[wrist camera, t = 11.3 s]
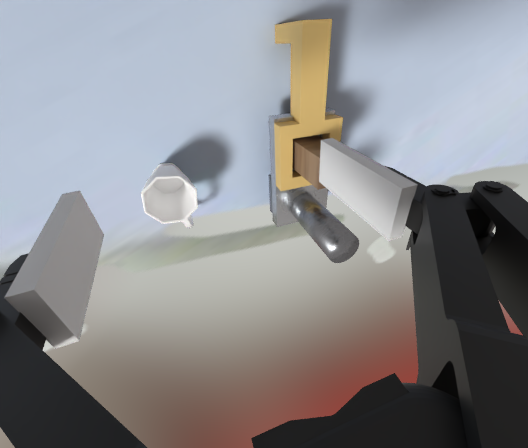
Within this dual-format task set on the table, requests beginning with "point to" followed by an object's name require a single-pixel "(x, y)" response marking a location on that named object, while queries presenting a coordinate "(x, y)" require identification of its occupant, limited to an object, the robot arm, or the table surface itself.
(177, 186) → the cup
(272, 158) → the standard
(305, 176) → the pin
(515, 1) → the table surface
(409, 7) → the table surface
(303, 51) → the bracket
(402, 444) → the robot arm
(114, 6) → the table surface
